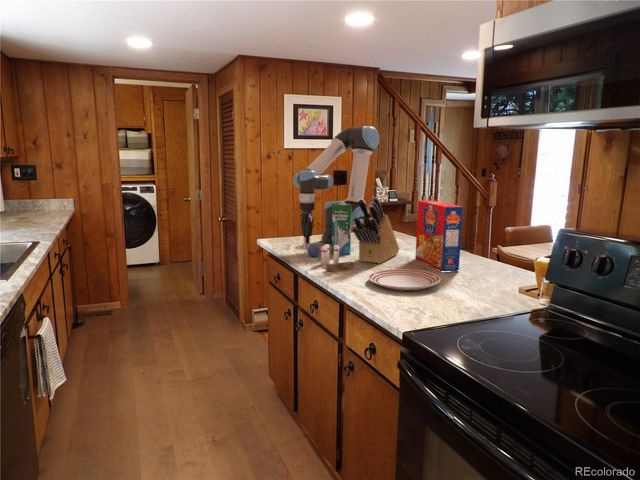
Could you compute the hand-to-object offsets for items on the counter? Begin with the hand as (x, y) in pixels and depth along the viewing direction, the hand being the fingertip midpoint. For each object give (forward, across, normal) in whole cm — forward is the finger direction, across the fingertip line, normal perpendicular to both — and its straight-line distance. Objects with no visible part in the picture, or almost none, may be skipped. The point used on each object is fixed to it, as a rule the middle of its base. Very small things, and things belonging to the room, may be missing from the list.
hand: (306, 249), depth 234 cm
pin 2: (+2, +27, +4) cm, 27 cm away
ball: (-1, +8, 0) cm, 8 cm away
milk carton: (+2, +4, +18) cm, 18 cm away
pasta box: (+2, +43, +46) cm, 63 cm away
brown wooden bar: (+2, +37, +1) cm, 37 cm away
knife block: (+2, +24, +26) cm, 36 cm away
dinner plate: (+3, +66, +15) cm, 68 cm away
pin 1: (+2, +27, -2) cm, 27 cm away
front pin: (+2, +23, +1) cm, 23 cm away
